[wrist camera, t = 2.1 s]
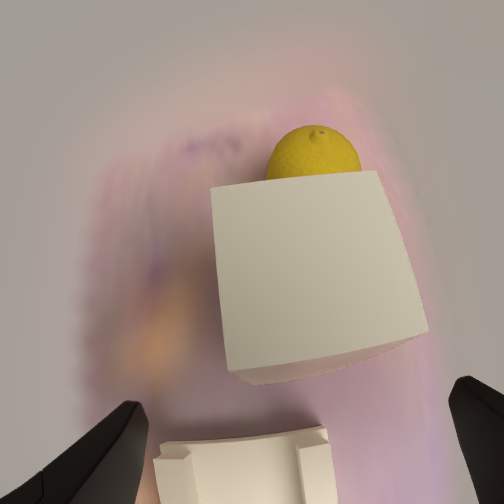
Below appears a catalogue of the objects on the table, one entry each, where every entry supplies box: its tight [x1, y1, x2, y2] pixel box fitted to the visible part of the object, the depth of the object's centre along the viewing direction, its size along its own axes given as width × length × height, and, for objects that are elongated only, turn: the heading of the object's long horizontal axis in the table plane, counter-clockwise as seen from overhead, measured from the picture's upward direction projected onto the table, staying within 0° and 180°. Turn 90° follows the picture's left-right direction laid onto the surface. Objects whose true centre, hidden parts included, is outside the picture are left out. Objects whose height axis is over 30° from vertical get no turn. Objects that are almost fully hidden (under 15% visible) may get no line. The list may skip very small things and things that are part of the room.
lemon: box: [266, 125, 361, 180], centre depth 18 cm, size 6×6×8 cm
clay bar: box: [210, 170, 429, 386], centre depth 12 cm, size 4×4×13 cm
